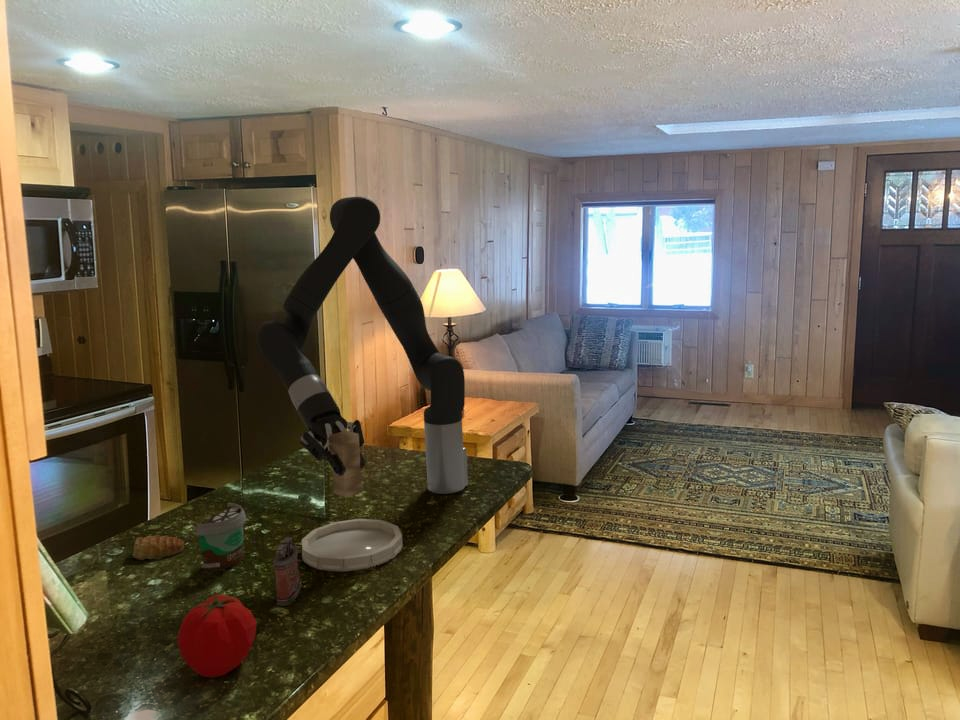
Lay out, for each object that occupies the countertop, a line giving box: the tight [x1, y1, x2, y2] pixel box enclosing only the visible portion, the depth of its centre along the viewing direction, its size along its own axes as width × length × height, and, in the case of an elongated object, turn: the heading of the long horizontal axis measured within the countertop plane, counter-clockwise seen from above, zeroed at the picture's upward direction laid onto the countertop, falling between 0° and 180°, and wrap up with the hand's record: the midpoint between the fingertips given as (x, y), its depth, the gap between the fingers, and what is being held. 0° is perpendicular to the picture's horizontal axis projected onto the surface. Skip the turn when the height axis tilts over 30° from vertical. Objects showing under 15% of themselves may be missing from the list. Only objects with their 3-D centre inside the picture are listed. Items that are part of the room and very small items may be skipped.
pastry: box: [132, 534, 185, 561], centre depth 156 cm, size 9×7×4 cm
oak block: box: [330, 430, 363, 498], centre depth 151 cm, size 4×4×12 cm
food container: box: [195, 502, 247, 572], centre depth 150 cm, size 12×6×10 cm, turn 168°
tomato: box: [176, 593, 257, 678], centre depth 114 cm, size 11×13×10 cm
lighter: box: [272, 536, 301, 606], centre depth 135 cm, size 8×3×10 cm, turn 178°
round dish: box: [301, 518, 404, 573], centre depth 154 cm, size 20×20×2 cm
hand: (352, 470), depth 150 cm, fingers closed on oak block, 4 cm apart
